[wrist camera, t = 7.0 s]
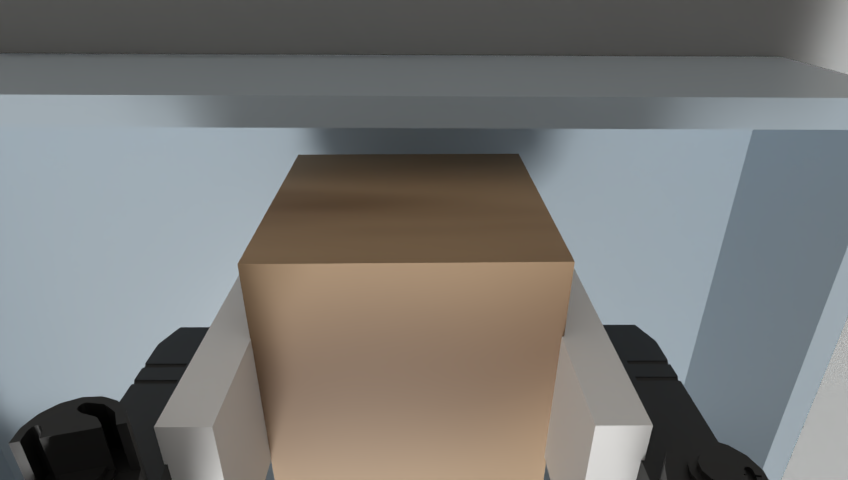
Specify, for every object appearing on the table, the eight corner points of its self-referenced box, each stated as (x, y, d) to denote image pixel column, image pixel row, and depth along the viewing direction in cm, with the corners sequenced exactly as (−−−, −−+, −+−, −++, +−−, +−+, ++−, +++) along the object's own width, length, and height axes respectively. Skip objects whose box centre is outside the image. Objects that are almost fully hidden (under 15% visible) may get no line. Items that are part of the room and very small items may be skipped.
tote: (781, 56, 15) (936, 98, 10) (658, 503, 22) (716, 639, 18) (-178, 52, 15) (-440, 92, 10) (26, 503, 22) (-73, 639, 18)
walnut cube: (503, 332, 15) (542, 491, 11) (317, 333, 15) (277, 495, 11) (518, 153, 13) (575, 262, 8) (298, 154, 13) (237, 264, 8)
